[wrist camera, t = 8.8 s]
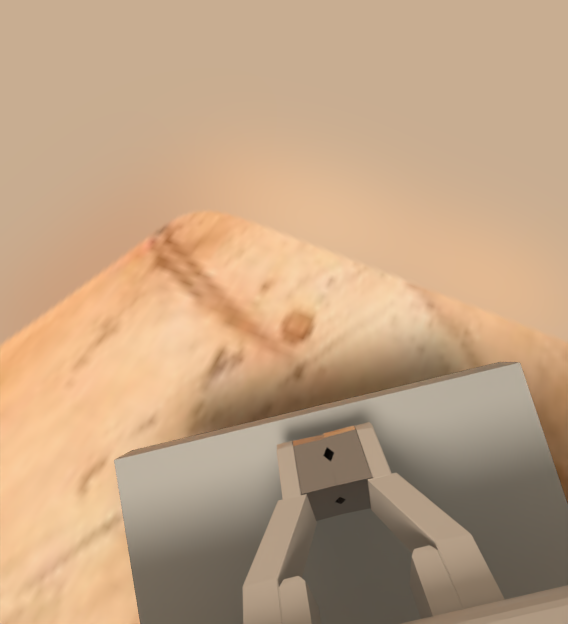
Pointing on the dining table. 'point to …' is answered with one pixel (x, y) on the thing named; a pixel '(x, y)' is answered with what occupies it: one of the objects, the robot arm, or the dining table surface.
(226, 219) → the dining table surface
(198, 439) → the tailgate
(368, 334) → the dining table surface
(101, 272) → the dining table surface
